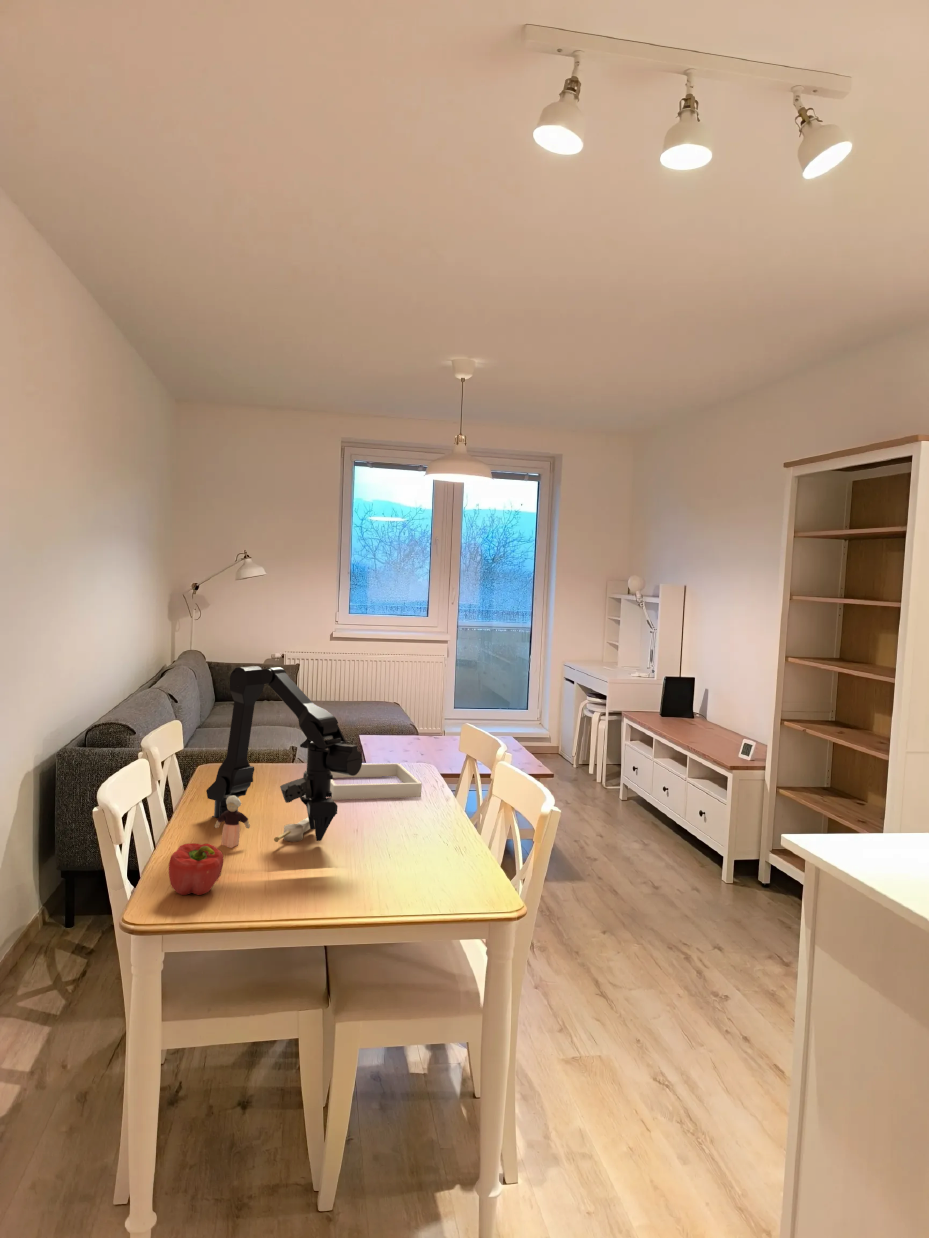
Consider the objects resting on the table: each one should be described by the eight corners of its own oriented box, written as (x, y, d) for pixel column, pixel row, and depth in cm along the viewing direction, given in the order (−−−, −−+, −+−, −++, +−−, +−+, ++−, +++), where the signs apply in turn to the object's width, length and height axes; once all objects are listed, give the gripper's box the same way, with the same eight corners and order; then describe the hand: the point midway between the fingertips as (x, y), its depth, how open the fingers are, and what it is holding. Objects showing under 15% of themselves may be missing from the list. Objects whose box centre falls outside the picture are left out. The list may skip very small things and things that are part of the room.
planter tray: (317, 777, 257) (318, 764, 257) (398, 775, 266) (399, 763, 266) (332, 799, 233) (333, 785, 233) (421, 796, 242) (421, 783, 241)
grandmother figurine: (213, 854, 183) (215, 798, 182) (213, 848, 186) (216, 793, 186) (248, 853, 185) (251, 797, 184) (248, 847, 188) (251, 793, 188)
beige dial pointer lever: (283, 851, 183) (284, 838, 183) (265, 848, 184) (266, 836, 184) (320, 827, 202) (321, 816, 201) (304, 825, 203) (304, 814, 202)
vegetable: (234, 894, 161) (237, 843, 161) (186, 907, 153) (188, 854, 153) (204, 878, 168) (207, 830, 168) (157, 890, 161) (159, 839, 160)
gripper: (279, 760, 198) (275, 824, 199) (289, 779, 181) (285, 849, 181) (325, 759, 202) (322, 822, 203) (339, 778, 184) (335, 846, 185)
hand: (315, 834), depth 193 cm, fingers open, 9 cm apart
